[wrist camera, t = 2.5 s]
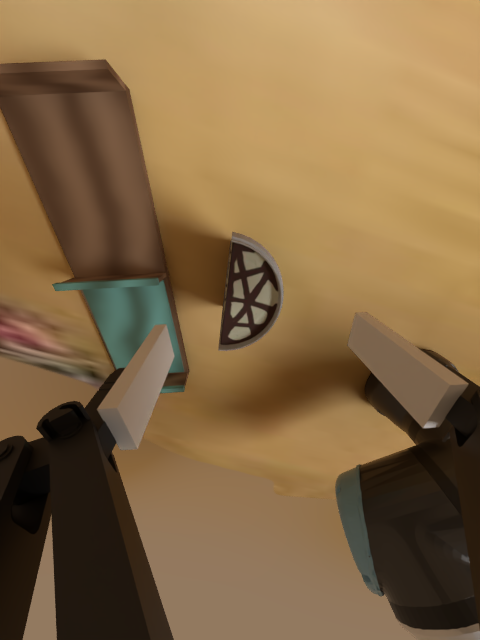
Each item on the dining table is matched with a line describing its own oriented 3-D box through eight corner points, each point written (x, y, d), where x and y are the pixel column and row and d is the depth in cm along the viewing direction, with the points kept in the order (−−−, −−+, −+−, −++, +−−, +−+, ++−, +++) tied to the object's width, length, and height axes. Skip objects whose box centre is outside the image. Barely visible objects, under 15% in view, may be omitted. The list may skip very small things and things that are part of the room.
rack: (129, 89, 19) (101, 53, 15) (189, 371, 35) (183, 391, 31) (3, 94, 19) (-60, 60, 15) (122, 375, 35) (108, 396, 31)
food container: (260, 319, 31) (272, 359, 22) (221, 314, 30) (217, 354, 22) (278, 235, 26) (304, 244, 17) (232, 228, 25) (232, 233, 16)
